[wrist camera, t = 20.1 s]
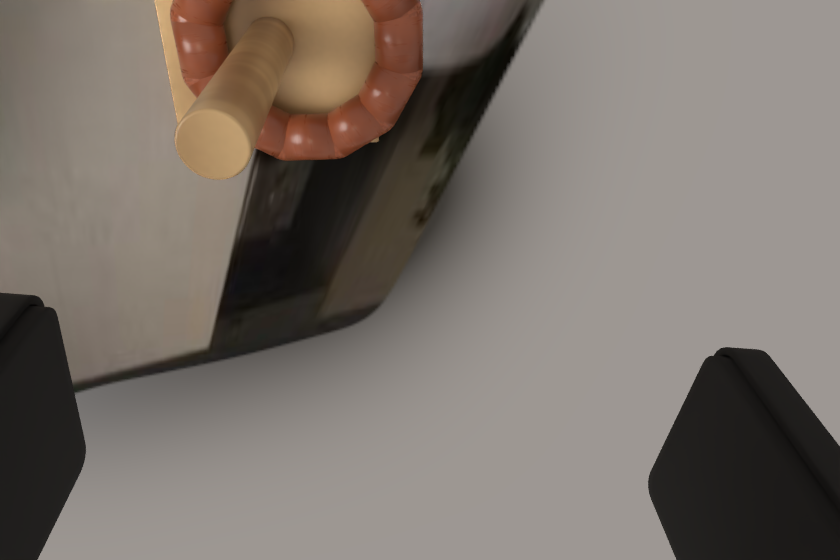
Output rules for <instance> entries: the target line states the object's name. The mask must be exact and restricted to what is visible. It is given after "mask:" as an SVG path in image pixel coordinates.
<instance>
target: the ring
mask: <svg viewBox="0 0 840 560" xmlns="http://www.w3.org/2000/svg"><path fill="white" fill-rule="evenodd" d="M232 1H233V0H173V1H172V4H171V7H170V21H171V25H172V30H173V35H174V40H175V45H176V50H177V54H178V59H179V64H180V69H181V74H182V78H183V80H184V82H185V84H186V85H187V87H188V88H189V89H190V90H191V92H192V93H193V94H194V95H195V97H196V98H198V96H199V95H200V94H201V92H202V91H203V89H204V88H205V87H206V85H207V84H208V83H209V81H210V80H211V78H212V77H213V76H214V74H215V73H216V72H217V70H218V69H219V68H220V66H221V65H222V63H223V62H224V61H225V59H226V58H227V57H228V55H229V52H228V46H227V40H226V33H225V27H224V21H225V19H226V16H227V14H228V11H229V8H230V6H231V3H232ZM361 1H362V3H363V4H364V6H365V8H366V9H367V11H368V13H369V14H370V16H371V18H372V19H373V21H374V44H375V63H374V64H373V66H372V68H371V70H370V72H369V74H368V76H367V78H366V80H365V82H364V84H363V86H362V88H361V90H360V92H359V94H358V95H356V96H354V97H353V98H351V99H350V100H348V101H346V102H345V103H343V104H342V105H340V106H338V107H337V108H335V109H333V110H332V111H330V112H329V113H314V114H289V113H287V112H285V111H283V110H281V109H279V108H277V107H275V106H273V105H272V106H271V108H270V111H269V113H268V116H267V118H266V121H265V123H264V126H263V128H262V131H261V133H260V136H259V138H258V141H257V143H256V146H255V148H256V149H258V150H261V151H263V152H265V153H267V154H269V155H271V156H273V157H275V158H278V159H280V160H286V161H291V160H322V159H340V158H343V157H346V156H348V155H349V154H351V153H353V152H354V151H356V150H358V149H359V148H361V147H363V146H364V145H366V144H368V143H369V142H371V141H373V140H374V139H376V138H378V137H379V136H381V135H383V134H384V133H386V132H388V131H389V130H390V129H391V128H392V127H393V126H394V125H395V123H396V122H397V120H398V118H399V116H400V114H401V113H402V111H403V109H404V107H405V105H406V104H407V102H408V100H409V98H410V96H411V95H412V93H413V91H414V89H415V87H416V86H417V84H418V82H419V80H420V78H421V76H422V72H423V10H422V5H421V2H420V0H361Z"/></svg>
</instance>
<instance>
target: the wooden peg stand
mask: <svg viewBox="0 0 840 560" xmlns="http://www.w3.org/2000/svg"><path fill="white" fill-rule="evenodd" d="M154 1H155V6H156V11H157V17H158V22H159V27H160V33H161V38H162V43H163V48H164V54H165V59H166V64H167V70H168V75H169V80H170V85H171V91H172V96H173V101H174V107H175V112H176V117H177V122H178V126H177V128H176V132H175V146H176V150H177V152H178V154H179V156H180V158H181V160H182V161H183V162H184V164H185V165H186V166H187V167H188V168H189V169H190V170H192V171H193V172H195V173H196V174H198V175H200V176H203V177H205V178H209V179H217V180H220V179H228V178H231V177H234V176H236V175H238V174H239V173H240V172H242V171H243V170H244V169H245V167H246V166H247V165H248V163H249V161H250V158H251V156H252V153H253V151H254V148H255V146H256V143H257V141H258V138H259V136H260V133H261V131H262V128H263V126H264V123H265V121H266V118H267V116H268V113H269V111H270V108H271V106H272V105H273V106H275V107H277V108H279V109H281V110H283V111H285V112H287V113H289V114H314V113H329V112H330V111H332V110H333V109H335V108H337V107H338V106H340V105H342V104H343V103H345V102H346V101H348V100H350V99H351V98H353V97H354V96H356V95H358V94H359V92H360V90H361V88H362V86H363V84H364V82H365V80H366V78H367V76H368V74H369V72H370V70H371V68H372V66H373V64H374V63H375V44H374V21H373V19H372V18H371V16H370V14H369V13H368V11H367V9H366V8H365V6H364V4H363V3H362V1H361V0H233V1H232V3H231V6H230V8H229V11H228V14H227V16H226V19H225V21H224V27H225V33H226V40H227V46H228V52H229V55H228V57H227V58H226V59H225V61H224V62H223V63H222V65H221V66H220V68H219V69H218V70H217V72H216V73H215V74H214V76H213V77H212V78H211V80H210V81H209V83H208V84H207V85H206V87H205V88H204V89H203V91H202V92H201V94H200V95H199V96H198V98H196V97H195V95H194V94H193V93H192V92H191V90H190V89H189V88H188V87H187V85H186V84H185V82H184V80H183V78H182V74H181V69H180V64H179V59H178V54H177V50H176V45H175V40H174V35H173V30H172V25H171V21H170V7H171V4H172V1H173V0H154ZM378 141H379V137H378V138H376V139H374V140H373V141H371V142H378Z"/></svg>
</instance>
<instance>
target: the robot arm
mask: <svg viewBox="0 0 840 560" xmlns="http://www.w3.org/2000/svg"><path fill="white" fill-rule="evenodd" d="M85 454H86V445H85V440H84V435H83V430H82V426H81V421H80V417H79V412H78V408H77V403H76V399H75V394H74V389H73V385H72V380H71V376H70V371H69V367H68V362H67V357H66V353H65V348H64V344H63V339H62V335H61V330H60V326H59V321H58V317H57V314H56V311H55V310H54V309H53V308H50V307H44V304H43V301H42V300H41V299H40V298H39V297H37V296H35V295H22V294H9V293H0V560H37V559H38V557H39V555H40V553H41V551H42V549H43V547H44V545H45V543H46V541H47V539H48V537H49V535H50V533H51V531H52V529H53V527H54V525H55V523H56V521H57V519H58V517H59V515H60V513H61V511H62V508H63V507H64V505H65V502H66V501H67V499H68V497H69V494H70V492H71V490H72V488H73V486H74V484H75V482H76V480H77V478H78V476H79V474H80V472H81V470H82V467H83V464H84V460H85ZM648 488H649V494H650V497H651V500H652V502H653V504H654V507H655V509H656V512H657V514H658V516H659V519H660V521H661V524H662V526H663V528H664V531H665V533H666V535H667V538H668V540H669V543H670V545H671V548H672V550H673V552H674V555H675V557H676V560H840V446H839V445H838V444H837V442H836V441H835V440H834V439H833V437H832V436H831V435H830V433H829V432H828V431H827V430H826V429H825V427H824V426H823V424H822V423H821V422H820V420H819V419H818V418H817V417H816V415H815V414H814V413H813V411H812V410H811V409H810V408H809V406H808V405H807V404H806V402H805V401H804V400H803V399H802V397H801V396H800V395H799V394H798V392H797V391H796V390H795V388H794V387H793V386H792V384H791V383H790V382H789V380H788V379H787V378H786V377H785V375H784V374H783V373H782V372H781V370H780V369H779V368H778V366H777V365H776V364H775V362H774V361H773V360H772V359H771V357H770V356H769V355H768V354H767V353H766V352H764V351H761V350H756V349H743V348H730V347H725V348H721V349H719V350H718V351H717V352H716V353H715V355H714V356H709V357H708V358H706V359H705V361H704V362H703V364H702V366H701V368H700V370H699V373H698V374H697V376H696V379H695V381H694V383H693V385H692V387H691V389H690V391H689V393H688V395H687V398H686V399H685V401H684V404H683V405H682V408H681V410H680V412H679V414H678V416H677V418H676V420H675V422H674V424H673V427H672V428H671V430H670V433H669V435H668V437H667V439H666V441H665V443H664V445H663V447H662V449H661V451H660V453H659V456H658V458H657V459H656V462H655V464H654V466H653V468H652V470H651V472H650V475H649V481H648Z"/></svg>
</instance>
